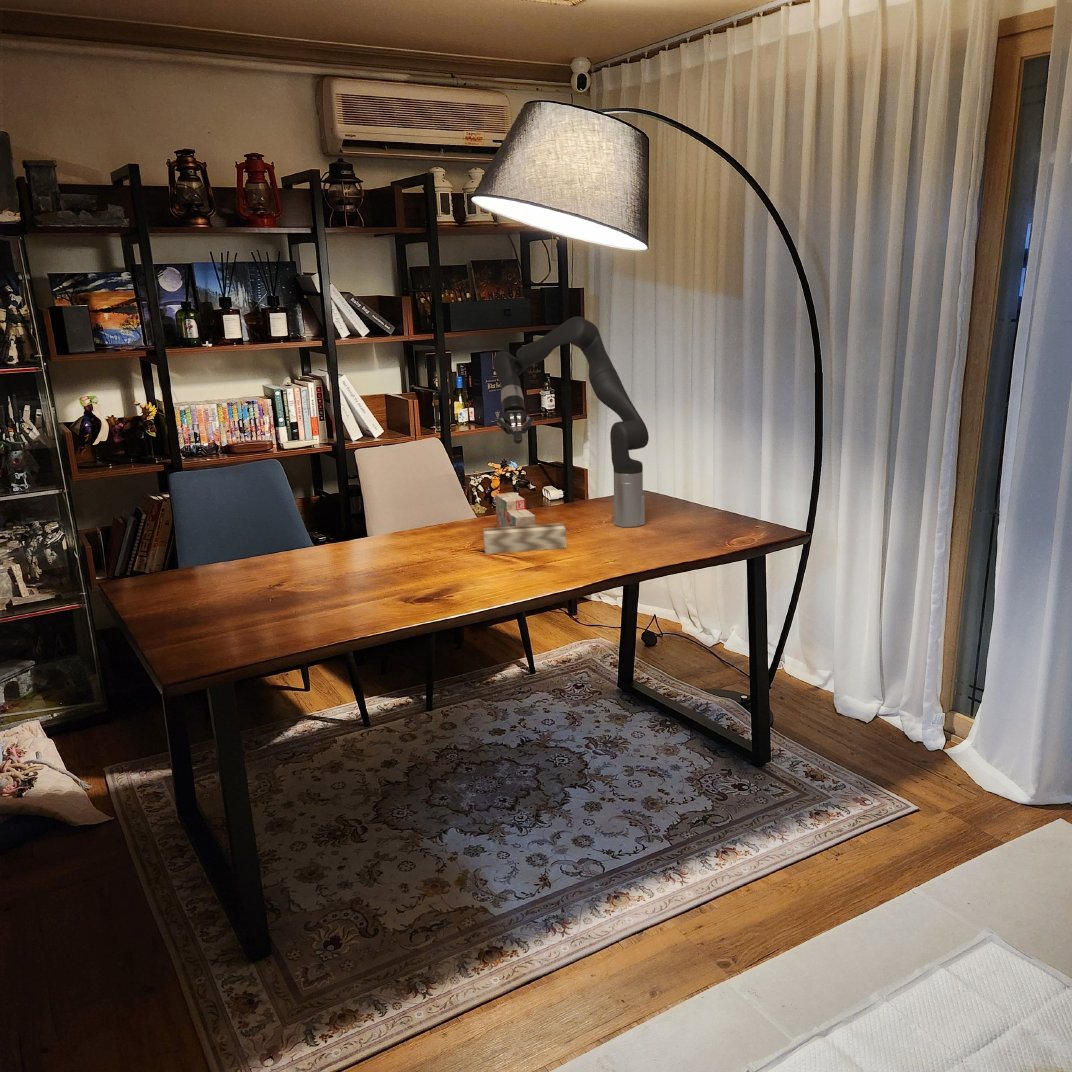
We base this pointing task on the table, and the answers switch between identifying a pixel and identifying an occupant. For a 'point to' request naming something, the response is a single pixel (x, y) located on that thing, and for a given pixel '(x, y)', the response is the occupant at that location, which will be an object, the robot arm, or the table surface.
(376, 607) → the table surface
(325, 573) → the table surface
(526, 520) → the stack of blocks
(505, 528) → the grey zigzag-patterned beam
